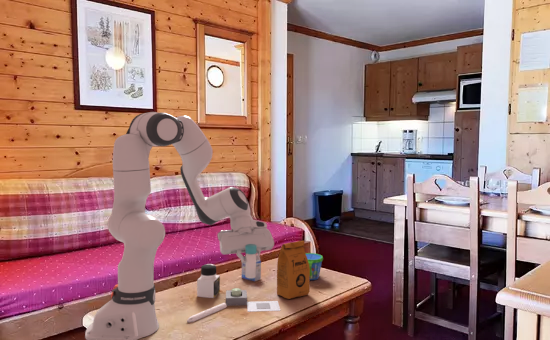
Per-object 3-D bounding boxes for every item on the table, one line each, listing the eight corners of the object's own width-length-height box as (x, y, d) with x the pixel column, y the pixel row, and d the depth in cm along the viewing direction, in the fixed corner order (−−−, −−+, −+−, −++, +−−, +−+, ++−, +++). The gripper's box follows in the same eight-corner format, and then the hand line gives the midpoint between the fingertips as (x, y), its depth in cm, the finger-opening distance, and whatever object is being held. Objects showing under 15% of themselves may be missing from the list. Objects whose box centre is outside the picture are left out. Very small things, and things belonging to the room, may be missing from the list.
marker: (188, 325, 142) (188, 318, 142) (184, 323, 143) (184, 316, 143) (226, 308, 156) (226, 302, 156) (222, 307, 157) (222, 301, 157)
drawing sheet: (247, 311, 153) (247, 311, 153) (246, 302, 162) (246, 301, 162) (280, 311, 154) (280, 310, 154) (277, 301, 163) (277, 300, 163)
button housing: (225, 305, 158) (225, 298, 158) (226, 297, 166) (226, 290, 166) (247, 305, 159) (247, 297, 159) (246, 297, 167) (246, 289, 166)
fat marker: (245, 278, 150) (245, 247, 149) (244, 274, 154) (245, 244, 153) (256, 278, 151) (256, 247, 149) (255, 274, 154) (256, 243, 153)
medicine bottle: (214, 298, 165) (214, 268, 164) (196, 297, 166) (196, 267, 165) (220, 292, 172) (220, 263, 171) (203, 290, 173) (203, 262, 172)
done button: (231, 299, 160) (231, 291, 160) (231, 295, 164) (231, 288, 164) (241, 298, 161) (241, 291, 160) (240, 295, 164) (240, 288, 164)
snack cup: (318, 285, 182) (319, 262, 181) (295, 282, 185) (295, 259, 184) (325, 274, 197) (325, 252, 196) (303, 271, 200) (303, 250, 199)
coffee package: (312, 296, 169) (314, 242, 167) (287, 302, 162) (288, 246, 160) (298, 288, 177) (299, 237, 175) (273, 294, 171) (274, 240, 169)
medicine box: (241, 278, 189) (241, 259, 189) (247, 275, 193) (247, 257, 192) (255, 281, 185) (255, 262, 184) (261, 279, 188) (261, 260, 188)
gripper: (217, 226, 153) (224, 260, 145) (270, 222, 161) (279, 254, 153) (215, 235, 158) (221, 268, 150) (266, 231, 165) (275, 262, 157)
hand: (251, 261), depth 151 cm, fingers closed on fat marker, 4 cm apart
